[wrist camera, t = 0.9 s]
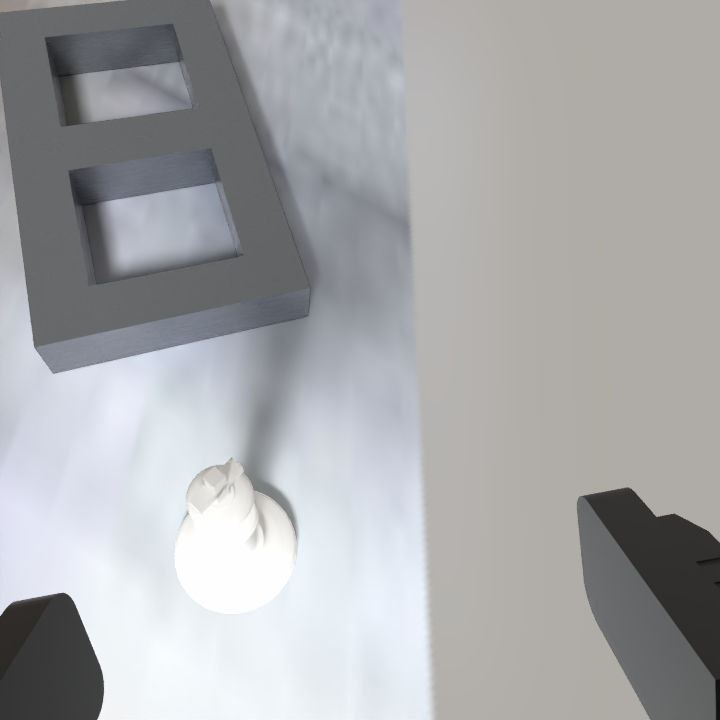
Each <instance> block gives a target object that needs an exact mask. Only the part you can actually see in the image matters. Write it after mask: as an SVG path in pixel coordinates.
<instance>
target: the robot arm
mask: <svg viewBox="0 0 720 720" xmlns="http://www.w3.org/2000/svg"><path fill="white" fill-rule="evenodd" d="M577 514H578V525H579V535H580V545H581V556H582V565H583V576H584V583H585V589H586V593H587V597H588V601H589V604H590V607H591V610H592V613H593V615H594V617H595V620H596V622H597V624H598V626H599V627H600V629H601V631H602V632H603V634H604V637H605V638H606V640H607V642H608V644H609V646H610V647H611V649H612V651H613V653H614V655H615V656H616V658H617V660H618V662H619V664H620V665H621V667H622V669H623V671H624V673H625V674H626V676H627V678H628V680H629V681H630V683H631V685H632V687H633V689H634V691H635V692H636V694H637V696H638V698H639V700H640V701H641V703H642V705H643V707H644V709H645V710H646V712H647V714H648V716H649V718H650V720H720V543H719V542H718V541H717V540H716V539H715V538H714V537H713V536H712V535H711V533H710V532H709V531H707V530H705V529H703V528H701V527H699V526H697V525H695V524H693V523H691V522H690V521H688V520H686V519H684V518H682V517H680V516H678V515H676V514H670V515H665V516H660V517H656V516H655V515H654V514H653V512H652V511H651V510H650V509H649V508H648V507H647V506H646V505H645V503H644V502H643V501H642V500H641V499H640V498H639V497H638V495H637V494H636V493H635V492H634V491H633V490H632V489H630V488H622V489H617V490H611V491H606V492H601V493H595V494H590V495H585V496H580V497H579V498H578V501H577ZM103 696H104V681H103V674H102V670H101V667H100V664H99V662H98V659H97V657H96V655H95V652H94V650H93V647H92V645H91V642H90V640H89V637H88V635H87V633H86V630H85V628H84V625H83V623H82V620H81V618H80V615H79V613H78V611H77V608H76V606H75V604H74V601H73V600H72V598H71V597H70V596H69V595H67V594H65V593H58V594H53V595H47V596H42V597H37V598H32V599H26V600H21V601H16V602H13V603H11V604H10V605H9V606H8V607H7V608H6V609H5V611H4V612H3V613H2V615H1V616H0V720H97V719H98V717H99V714H100V711H101V708H102V703H103Z"/></svg>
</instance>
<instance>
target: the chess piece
mask: <svg viewBox="0 0 720 720" xmlns="http://www.w3.org/2000/svg"><path fill="white" fill-rule="evenodd" d="M243 472H244V470H243V466H241V465H240V464H239V463H238V462H237V461H236V460H235V459H234V458H231V459H230V460H229V461H228V462H227V463H226V464H225V465H216V466H212V467H209V468H207V469H205V470H203V471H201V472H200V473H199V474H198V475H197V476H196V477H195V478H194V479H193V480H192V482H191V483H190V485H189V488H188V490H187V495H186V506H187V510H188V512H189V514H188V515H187V516H186V518H185V519H184V521H183V523H182V525H181V527H180V529H179V531H178V534H177V538H176V543H175V566H176V571H177V574H178V577H179V580H180V582H181V584H182V586H183V587H184V589H185V590H186V592H187V593H188V594H189V595H190V596H191V597H192V598H193V599H194V600H195V601H196V602H198V603H199V604H201V605H202V606H204V607H206V608H208V609H210V610H213V611H216V612H221V613H243V612H247V611H251V610H254V609H256V608H258V607H260V606H262V605H264V604H266V603H267V602H269V601H270V600H271V599H273V598H274V597H275V596H276V595H277V594H278V593H279V592H280V591H281V590H282V588H283V587H284V586H285V584H286V583H287V581H288V579H289V578H290V576H291V573H292V571H293V568H294V565H295V561H296V555H297V540H296V534H295V531H294V527H293V525H292V523H291V521H290V519H289V517H288V515H287V514H286V512H285V511H284V510H283V508H282V507H281V506H280V505H279V504H278V503H277V502H276V501H274V500H273V499H272V498H270V497H269V496H267V495H265V494H263V493H261V492H258V491H255V490H253V486H252V483H251V481H250V480H249V478H248V477H247V476H246V474H245V473H243Z"/></svg>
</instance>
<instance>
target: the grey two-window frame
mask: <svg viewBox="0 0 720 720" xmlns="http://www.w3.org/2000/svg"><path fill="white" fill-rule="evenodd" d="M178 61H179V63H180V66H181V69H182V73H183V76H184V79H185V83H186V86H187V89H188V93H189V96H190V99H191V103H192V106H193V109H186V110H179V111H172V112H164V113H157V114H150V115H143V116H136V117H128V118H121V119H114V120H107V121H100V122H92V123H85V124H78V125H71V126H68V125H67V119H66V114H65V108H64V103H63V97H62V92H61V86H60V81H59V76H63V75H71V74H79V73H87V72H96V71H104V70H112V69H120V68H129V67H137V66H145V65H154V64H162V63H170V62H178ZM0 80H1V87H2V95H3V103H4V111H5V119H6V127H7V135H8V143H9V151H10V159H11V167H12V175H13V183H14V190H15V198H16V206H17V214H18V222H19V230H20V238H21V246H22V254H23V262H24V270H25V278H26V285H27V293H28V301H29V309H30V317H31V325H32V333H33V341H34V347H35V349H36V350H37V352H38V353H39V355H40V356H41V357H42V359H43V360H44V362H45V363H46V364H47V366H48V367H49V369H50V370H51V371H52V373H53V374H54V373H58V372H63V371H67V370H72V369H76V368H80V367H85V366H89V365H94V364H98V363H103V362H107V361H111V360H116V359H120V358H125V357H129V356H133V355H138V354H142V353H147V352H151V351H156V350H160V349H164V348H169V347H173V346H178V345H182V344H187V343H191V342H195V341H200V340H204V339H209V338H213V337H218V336H222V335H226V334H231V333H235V332H240V331H244V330H249V329H253V328H257V327H262V326H266V325H271V324H275V323H280V322H284V321H288V320H293V319H297V318H302V317H306V316H308V314H309V300H310V285H309V283H308V280H307V277H306V274H305V271H304V268H303V265H302V263H301V260H300V257H299V254H298V251H297V248H296V245H295V243H294V240H293V237H292V234H291V231H290V228H289V226H288V223H287V220H286V217H285V214H284V211H283V208H282V206H281V203H280V200H279V197H278V194H277V191H276V188H275V186H274V183H273V180H272V177H271V174H270V171H269V168H268V166H267V163H266V160H265V157H264V154H263V151H262V149H261V146H260V143H259V140H258V137H257V134H256V131H255V129H254V126H253V123H252V120H251V117H250V114H249V111H248V109H247V106H246V103H245V100H244V97H243V94H242V91H241V89H240V86H239V83H238V80H237V77H236V74H235V72H234V69H233V66H232V63H231V60H230V57H229V54H228V52H227V49H226V46H225V43H224V40H223V37H222V34H221V32H220V29H219V26H218V23H217V20H216V17H215V15H214V12H213V9H212V6H211V3H210V0H126V1H115V2H105V3H94V4H84V5H74V6H63V7H53V8H43V9H32V10H22V11H11V12H1V13H0ZM210 183H216V186H217V189H218V192H219V196H220V199H221V202H222V206H223V209H224V212H225V216H226V219H227V222H228V226H229V229H230V232H231V236H232V239H233V242H234V246H235V249H236V252H237V255H238V257H235V258H230V259H225V260H220V261H215V262H210V263H205V264H199V265H194V266H189V267H184V268H179V269H174V270H169V271H164V272H159V273H154V274H149V275H144V276H139V277H134V278H129V279H124V280H118V281H113V282H108V283H103V284H98V285H97V284H96V279H95V273H94V268H93V262H92V257H91V251H90V246H89V240H88V235H87V229H86V224H85V218H84V213H83V207H82V205H85V204H91V203H97V202H103V201H109V200H115V199H121V198H127V197H133V196H138V195H144V194H150V193H156V192H162V191H168V190H174V189H180V188H186V187H192V186H198V185H204V184H210Z"/></svg>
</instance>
